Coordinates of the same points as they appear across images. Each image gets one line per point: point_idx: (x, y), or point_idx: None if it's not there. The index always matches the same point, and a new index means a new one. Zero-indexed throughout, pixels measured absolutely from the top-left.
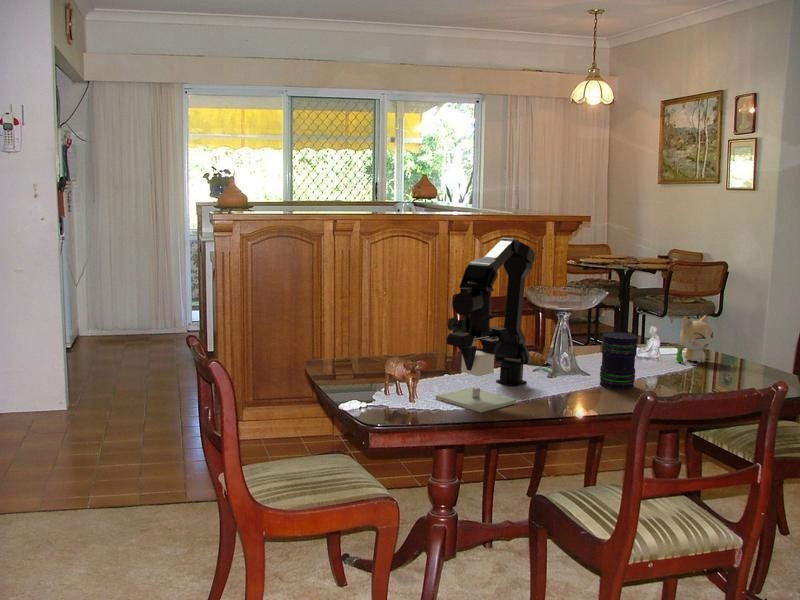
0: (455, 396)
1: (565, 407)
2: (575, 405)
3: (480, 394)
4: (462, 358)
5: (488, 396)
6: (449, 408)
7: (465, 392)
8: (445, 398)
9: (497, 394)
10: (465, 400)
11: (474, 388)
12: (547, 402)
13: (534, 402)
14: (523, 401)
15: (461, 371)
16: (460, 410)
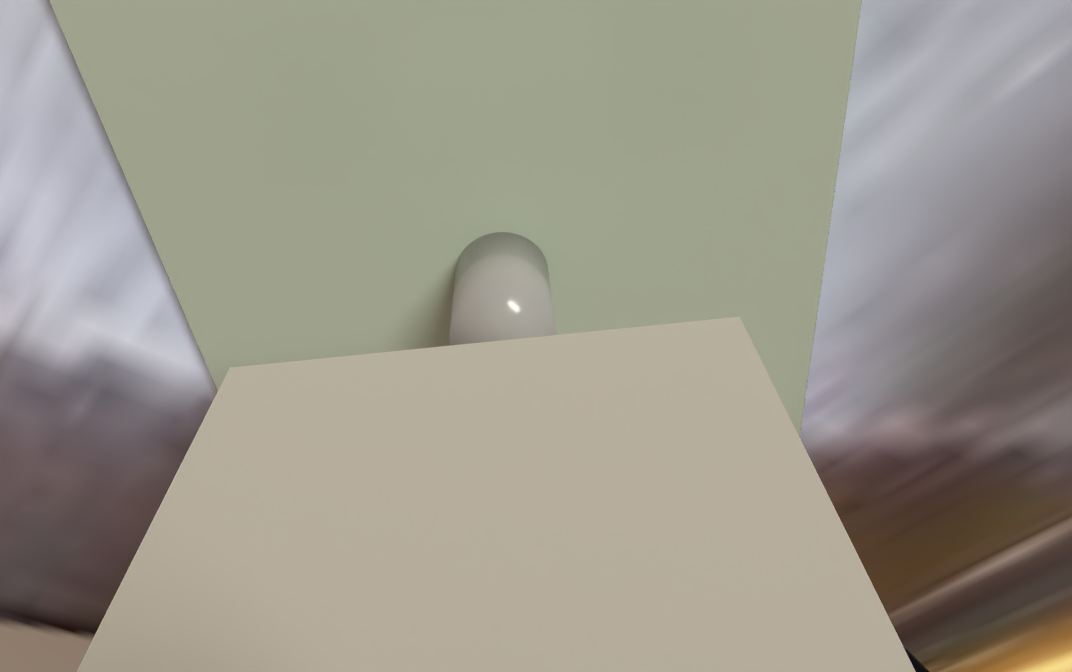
0: (280, 109)
1: (955, 659)
2: (1053, 657)
3: (651, 203)
4: (103, 670)
5: (661, 312)
6: (55, 317)
7: (554, 7)
8: (96, 102)
9: (817, 299)
10: (304, 307)
11: (471, 338)
12: (1000, 552)
13: (925, 514)
14: (887, 461)
15: (231, 376)
16: (145, 411)
